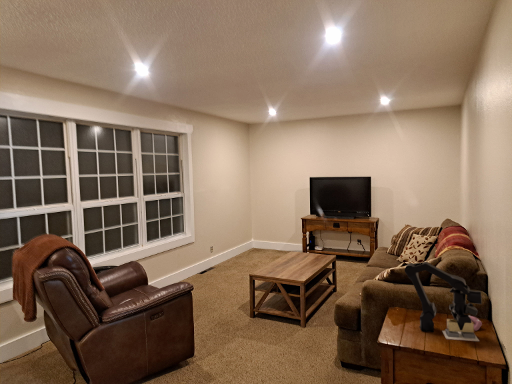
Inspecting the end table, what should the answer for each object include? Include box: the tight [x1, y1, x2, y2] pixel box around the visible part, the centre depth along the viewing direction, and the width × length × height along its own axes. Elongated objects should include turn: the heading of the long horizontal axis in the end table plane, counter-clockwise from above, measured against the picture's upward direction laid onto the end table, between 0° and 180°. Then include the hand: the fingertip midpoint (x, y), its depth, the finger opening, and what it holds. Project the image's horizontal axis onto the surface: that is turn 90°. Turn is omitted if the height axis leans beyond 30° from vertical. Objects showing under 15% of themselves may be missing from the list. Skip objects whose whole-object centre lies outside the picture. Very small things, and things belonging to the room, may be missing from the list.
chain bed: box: [441, 328, 480, 342], centre depth 192 cm, size 16×9×6 cm, turn 75°
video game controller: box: [468, 315, 483, 332], centre depth 202 cm, size 10×5×7 cm, turn 17°
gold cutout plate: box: [446, 318, 475, 334], centre depth 192 cm, size 12×4×5 cm, turn 75°
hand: (459, 328), depth 192 cm, fingers closed on gold cutout plate, 4 cm apart
